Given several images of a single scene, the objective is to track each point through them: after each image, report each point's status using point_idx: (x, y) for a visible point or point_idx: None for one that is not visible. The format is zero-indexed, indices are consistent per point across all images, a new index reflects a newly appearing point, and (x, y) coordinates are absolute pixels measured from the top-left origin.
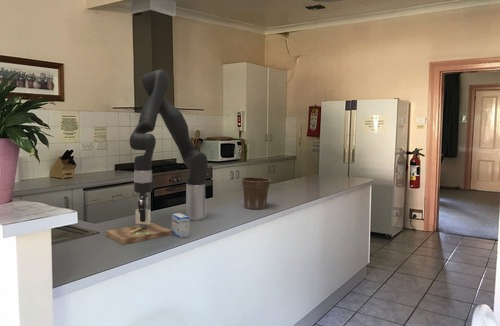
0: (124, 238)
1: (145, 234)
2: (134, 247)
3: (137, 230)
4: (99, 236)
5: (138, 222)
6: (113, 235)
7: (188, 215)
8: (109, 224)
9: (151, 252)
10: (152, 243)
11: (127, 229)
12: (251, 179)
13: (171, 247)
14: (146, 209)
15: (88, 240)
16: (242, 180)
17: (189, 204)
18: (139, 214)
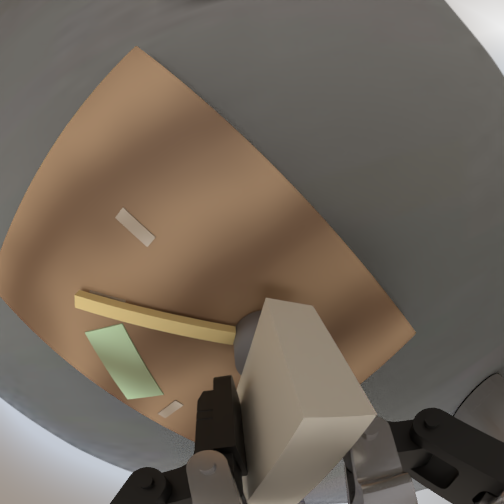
0: (3, 284)
1: (114, 383)
2: (6, 336)
3: (162, 325)
4: (124, 34)
5: (258, 333)
6: (40, 171)
7: (477, 404)
8: (430, 28)
9: (8, 396)
10: (80, 398)
11: (205, 217)
12: None
13: (78, 447)
14: (307, 490)
15: (45, 33)
16: None
17: (497, 436)
18: (265, 409)
